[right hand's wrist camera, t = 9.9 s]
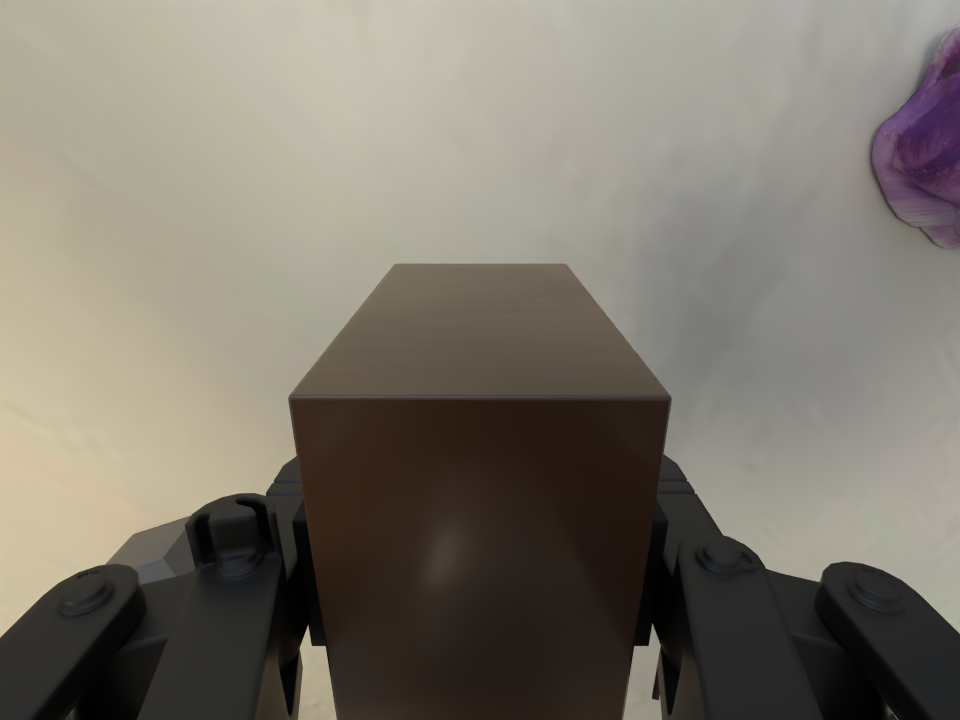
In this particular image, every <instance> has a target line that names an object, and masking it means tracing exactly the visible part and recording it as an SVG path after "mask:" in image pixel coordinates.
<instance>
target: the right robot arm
mask: <svg viewBox="0 0 960 720" xmlns="http://www.w3.org/2000/svg"><path fill="white" fill-rule="evenodd" d="M185 529H186V533H187V537H188V541H189V545H190V549H191V552H192V556H193V560H194V564H195V569H194V571H193V572H190V573H187V574H183V575H180V576H176V577H171V578H167V579H163V580H158V581H154V582H150V583H145V584H141V582H140V578H139V575H138V573H137V572H136V571H135V570H134V569H133V568H132V567H131V566H127V565H122V564H109V565H101V566H97V567H94V568H90V569H87V570H84V571H81V572H79V573H77V574H75V575H73V576H71V577H69V578H67V579H65V580H64V581H62V582H60V583H58V584H57V585H56V586H55V587H53V588H52V589H51V590H50V591H48V592H47V593H46V594H44V595H43V596H42V597H41V598H40V599H39V600H38V601H37V602H36V603H35V604H34V605H33V606H32V607H31V608H30V609H29V610H28V611H27V612H26V613H25V614H24V615H23V616H22V617H21V618H20V619H19V620H18V621H17V622H16V623H15V624H14V625H13V626H12V627H11V628H10V629H9V630H8V631H7V632H6V633H5V634H4V635H3V636H2V637H1V638H0V720H298V712H299V702H300V691H301V681H302V670H303V667H302V660H301V653H300V645H301V643H302V640H303V637H304V634H305V632H306V629H307V626H308V625H309V631H310V637H311V643H312V646H326V644H325V637H324V631H323V624H322V618H321V611H320V604H319V598H318V591H317V585H316V578H315V571H314V565H313V558H312V552H311V545H310V539H309V532H308V525H307V519H306V512H305V506H304V499H303V493H302V486H301V479H300V473H299V466H298V460H297V456H296V457H295V458H293V459H292V460H291V461H289V462H288V463H287V464H285V465H284V466H283V467H282V469H281V470H280V472H279V474H278V475H277V477H276V478H275V480H274V483H272V484H271V486H270V488H269V489H268V491H267V492H266V496H263V495H259V494H255V493H243V494H235V495H231V496H226V497H222V498H220V499H217V500H215V501H213V502H211V503H208V504H206V505H205V506H203V507H202V508H200V509H199V510H198V511H196V512H195V513H193V514H192V516H191V517H190V518H189V519H188V521H187V522H186V523H185ZM652 623H653V625H654V628H655V631H656V634H657V636H658V639H659V642H660V644H661V648H660V653H659V659H658V665H657V670H656V676H655V682H654V688H653V695H652V699H655V700H659V695H660V701H661V711H662V720H897V719H898V720H960V634H959V633H958V632H957V631H956V630H955V629H954V628H953V627H952V626H951V625H950V624H949V623H948V622H947V621H946V620H945V619H944V618H943V617H942V616H941V615H940V614H939V613H938V612H937V611H936V610H935V609H934V608H933V607H932V606H931V605H930V604H929V603H928V602H927V601H926V600H925V599H924V598H922V597H921V596H920V595H919V594H918V593H917V592H916V591H915V590H913V589H912V588H911V587H909V586H908V585H907V584H906V583H904V582H903V581H902V580H900V579H898V578H896V577H894V576H892V575H890V574H889V573H887V572H885V571H883V570H880V569H877V568H874V567H871V566H868V565H865V564H861V563H853V562H839V563H833V564H830V565H829V566H828V567H827V568H826V569H825V570H824V571H823V574H822V577H821V580H820V582H816V581H811V580H807V579H803V578H798V577H794V576H789V575H785V574H781V573H778V572H774V571H771V570H768V569H766V568H765V566H764V564H763V563H762V561H761V560H760V558H759V557H758V555H757V554H756V553H754V552H753V551H752V550H751V549H749V548H748V547H747V546H746V545H744V544H742V543H740V542H738V541H736V540H734V539H732V538H730V537H727V536H723V534H722V533H721V531H720V530H719V528H718V527H717V525H716V524H715V522H714V520H713V519H712V517H711V516H710V514H709V513H708V511H707V510H706V508H705V506H704V505H703V503H702V502H701V500H700V499H699V497H698V496H697V494H695V491H694V489H693V488H692V486H691V485H690V483H689V482H687V479H686V477H685V475H684V474H683V472H682V471H681V469H680V468H679V466H678V465H677V464H676V463H675V462H674V461H672V460H671V459H669V458H668V457H667V456H665V455H664V454H663V459H662V466H661V472H660V479H659V486H658V492H657V499H656V505H655V512H654V518H653V525H652V532H651V538H650V545H649V551H648V558H647V565H646V571H645V578H644V584H643V591H642V597H641V604H640V611H639V617H638V624H637V630H636V637H635V644H634V646H649V640H650V633H651V627H652ZM892 712H893V713H894V714H893V713H892ZM894 715H895V716H896V717H897V718H896V717H895V716H894ZM67 716H68V717H67Z"/></svg>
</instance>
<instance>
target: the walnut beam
mask: <svg viewBox="0 0 960 720" xmlns="http://www.w3.org/2000/svg"><path fill="white" fill-rule="evenodd" d="M288 400H289V407H290V414H291V420H292V427H293V433H294V440H295V446H296V453H297V460H298V466H299V473H300V479H301V486H302V493H303V499H304V506H305V512H306V519H307V525H308V532H309V539H310V545H311V552H312V558H313V565H314V571H315V578H316V585H317V591H318V598H319V604H320V611H321V618H322V624H323V631H324V637H325V644H326V650H327V657H328V664H329V670H330V677H331V683H332V690H333V697H334V703H335V710H336V716H337V720H623V716H624V709H625V703H626V696H627V690H628V683H629V676H630V670H631V663H632V657H633V650H634V644H635V637H636V630H637V624H638V617H639V611H640V604H641V597H642V591H643V584H644V578H645V571H646V565H647V558H648V551H649V545H650V538H651V532H652V525H653V518H654V512H655V505H656V499H657V492H658V486H659V479H660V472H661V466H662V459H663V453H664V446H665V440H666V433H667V426H668V420H669V413H670V407H671V400H672V399H671V396H670V395H669V393H668V392H667V391H666V390H665V388H664V387H663V386H662V385H661V383H660V382H659V381H658V379H657V378H656V377H655V376H654V374H653V373H652V372H651V371H650V369H649V368H648V367H647V366H646V364H645V363H644V362H643V361H642V359H641V358H640V357H639V355H638V354H637V353H636V352H635V350H634V349H633V348H632V347H631V345H630V344H629V343H628V342H627V340H626V339H625V338H624V337H623V335H622V334H621V333H620V331H619V330H618V329H617V328H616V326H615V325H614V324H613V323H612V321H611V320H610V319H609V318H608V316H607V315H606V314H605V313H604V311H603V310H602V309H601V307H600V306H599V305H598V304H597V302H596V301H595V300H594V299H593V297H592V296H591V295H590V294H589V292H588V291H587V290H586V288H585V287H584V286H583V285H582V283H581V282H580V281H579V280H578V278H577V277H576V276H575V275H574V273H573V272H572V271H571V270H570V268H569V267H568V266H567V264H394V265H393V267H392V268H391V269H390V270H389V272H388V273H387V274H386V275H385V277H384V278H383V279H382V280H381V282H380V283H379V284H378V285H377V287H376V288H375V289H374V290H373V292H372V293H371V294H370V295H369V297H368V298H367V299H366V300H365V302H364V303H363V304H362V305H361V307H360V308H359V309H358V310H357V312H356V313H355V314H354V315H353V317H352V318H351V319H350V320H349V322H348V323H347V324H346V325H345V327H344V328H343V329H342V331H341V332H340V333H339V334H338V336H337V337H336V338H335V339H334V341H333V342H332V343H331V344H330V346H329V347H328V348H327V349H326V351H325V352H324V353H323V354H322V356H321V357H320V358H319V359H318V361H317V362H316V363H315V364H314V366H313V367H312V368H311V369H310V371H309V372H308V373H307V374H306V376H305V377H304V378H303V379H302V381H301V382H300V383H299V384H298V386H297V387H296V388H295V389H294V391H293V392H292V393H291V394H290V396H289V398H288Z"/></svg>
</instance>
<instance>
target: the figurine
mask: <svg viewBox="0 0 960 720" xmlns="http://www.w3.org/2000/svg"><path fill="white" fill-rule="evenodd" d="M871 159H872V165H873V167H874V170H875V173H876V175H877V178H878V180H879V183H880V185H881V188H882V190H883V192H884V195H885V197H886V200H887V202H888V204H889V205H890V206H891V208H892V209H893V211H894V212H895V213H896V215H897V217H898V218H899V219H901V220H903V221H905V222H906V223H908V224H910V225H912V226H914V227H916V228H917V227H921V229H922V230H923V231H925V232H926V233H927V234H928V236H929V237H930V238H931V239H932V240H933V242H935V243H936V244H937V245H938V246H940V247H943V248H947V249H950V248H956V247H960V22H958V23H957V24H956V25H954V26H953V27H952V28H951V29H950V30H949V31H948V32H947V33H946V35H945V36H944V37H943V38H942V39H941V41H940V43H939V44H938V46H937V48H936V50H935V52H934V54H933V56H932V58H931V60H930V63H929V66H928V69H927V71H926V74H925V76H924V78H923V81H922V83H921V85H920V86H919V88H918V89H917V91H916V92H915V93H914V95H913V96H912V97H911V99H910V100H909V101H908V102H907V103H906V104H905V105H904V106H902V108H901V110H900V111H899V112H897V113H896V114H895V115H894V116H892V117H891V118H889V119H888V120H887V121H886V122H885V123H884V124H883V125H882V126H881V128H880V129H879V131H878V132H877V134H876V137H875V140H874V146H873V151H872V154H871Z"/></svg>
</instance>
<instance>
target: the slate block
mask: <svg viewBox="0 0 960 720" xmlns="http://www.w3.org/2000/svg"><path fill="white" fill-rule="evenodd" d="M190 517H191V516H190ZM190 517H187V518H184V519H181V520H178V521H174V522H171V523H168V524H165V525H162V526H159V527H156V528H153V529H150V530H147V531H143V532H140V533H137V534H134V535H132V536H131V537H130V538H129V540H128V541H127V542H126V543H125V544H124V545H123V546H122V547H121V548H120V549H119V550H118V551H117V552H116V554H115V555H114V556H113V557H112V558H111V559H110V560H109V561H108V562H107V563H106V564H105V565H109V564H122V565H127V566H131V567H132V568H133V569H134V570H135V571H136V572H137V573H138V575H139V578H140V582H141V584H145V583H150V582H154V581H158V580H163V579H167V578H171V577H176V576H180V575H183V574H187V573H190V572H193V571H194V569H195V564H194V560H193V556H192V552H191V549H190V545H189V541H188V537H187V533H186V529H185V523H186V522H187V521H188V519H189V518H190Z"/></svg>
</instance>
